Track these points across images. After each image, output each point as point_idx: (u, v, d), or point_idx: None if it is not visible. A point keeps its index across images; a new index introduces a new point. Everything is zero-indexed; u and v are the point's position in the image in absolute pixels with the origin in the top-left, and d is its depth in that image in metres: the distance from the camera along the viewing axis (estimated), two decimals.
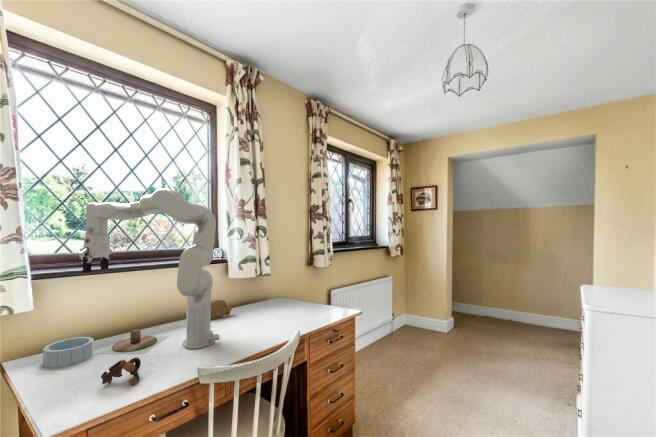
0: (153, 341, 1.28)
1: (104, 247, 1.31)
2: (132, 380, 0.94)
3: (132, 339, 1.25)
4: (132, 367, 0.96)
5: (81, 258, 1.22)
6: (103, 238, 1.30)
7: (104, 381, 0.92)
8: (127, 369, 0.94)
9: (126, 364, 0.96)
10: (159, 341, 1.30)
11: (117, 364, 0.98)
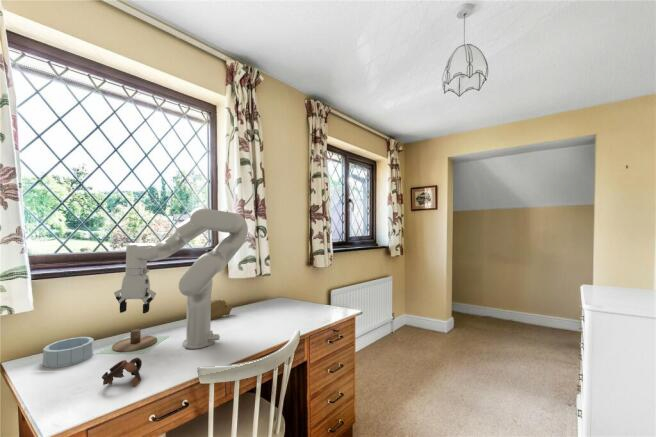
0: (153, 341, 1.28)
1: None
2: (133, 380, 0.94)
3: (132, 339, 1.25)
4: (133, 367, 0.96)
5: (152, 298, 1.27)
6: None
7: (105, 382, 0.91)
8: (128, 369, 0.94)
9: (127, 364, 0.96)
10: (159, 341, 1.30)
11: (118, 364, 0.97)
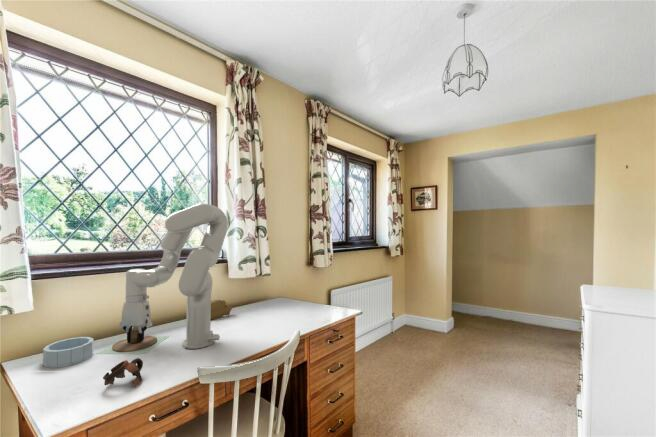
0: (153, 341, 1.28)
1: None
2: (135, 381, 0.94)
3: (132, 339, 1.25)
4: (135, 368, 0.96)
5: None
6: None
7: (107, 382, 0.91)
8: (130, 370, 0.94)
9: (129, 365, 0.95)
10: (159, 341, 1.30)
11: (119, 365, 0.97)
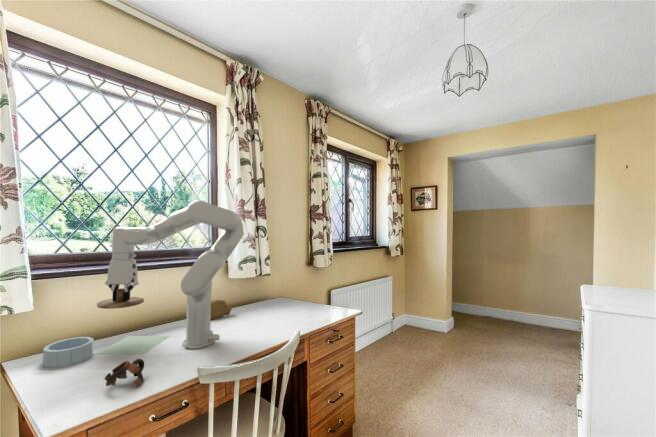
0: (139, 301, 1.25)
1: None
2: (137, 381, 0.94)
3: (118, 297, 1.23)
4: (136, 368, 0.95)
5: None
6: None
7: (108, 383, 0.91)
8: (131, 370, 0.94)
9: (130, 365, 0.95)
10: (159, 341, 1.30)
11: (121, 365, 0.97)
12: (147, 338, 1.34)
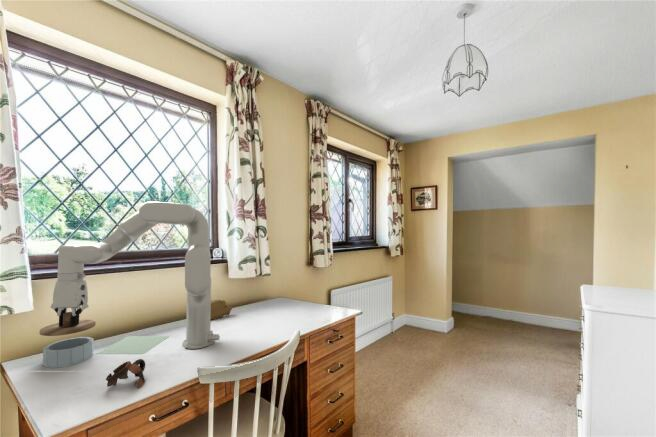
0: (89, 325, 1.14)
1: None
2: (138, 382, 0.93)
3: (64, 322, 1.12)
4: (138, 369, 0.95)
5: (82, 309, 1.13)
6: None
7: (110, 383, 0.90)
8: (133, 371, 0.93)
9: (131, 366, 0.95)
10: (159, 341, 1.30)
11: (122, 366, 0.97)
12: (147, 338, 1.34)
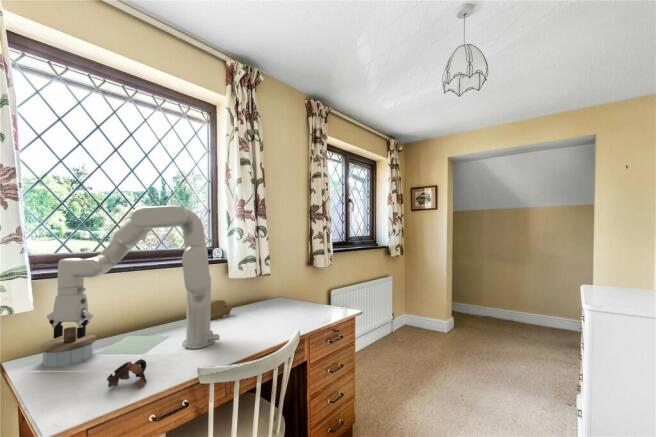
0: (90, 340, 1.14)
1: None
2: (139, 382, 0.93)
3: (65, 338, 1.12)
4: (139, 369, 0.95)
5: (88, 321, 1.13)
6: None
7: (111, 384, 0.90)
8: (134, 371, 0.93)
9: (133, 366, 0.94)
10: (159, 341, 1.30)
11: (123, 366, 0.96)
12: (147, 338, 1.34)
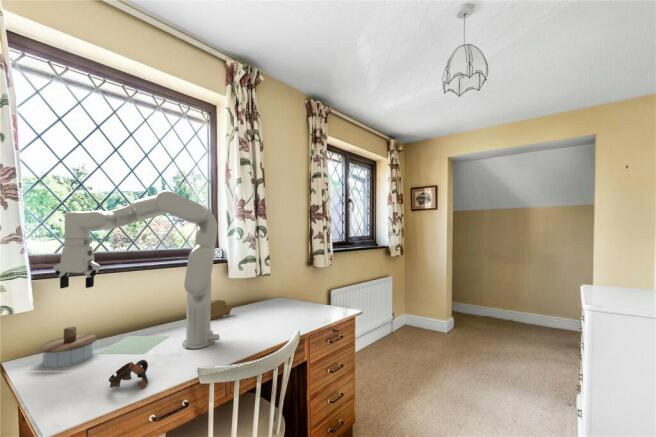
0: (90, 340, 1.14)
1: None
2: (141, 383, 0.93)
3: (65, 338, 1.12)
4: (141, 369, 0.95)
5: (97, 271, 1.16)
6: None
7: (113, 384, 0.90)
8: (136, 372, 0.93)
9: (134, 367, 0.94)
10: (159, 341, 1.30)
11: (124, 367, 0.96)
12: (147, 338, 1.34)
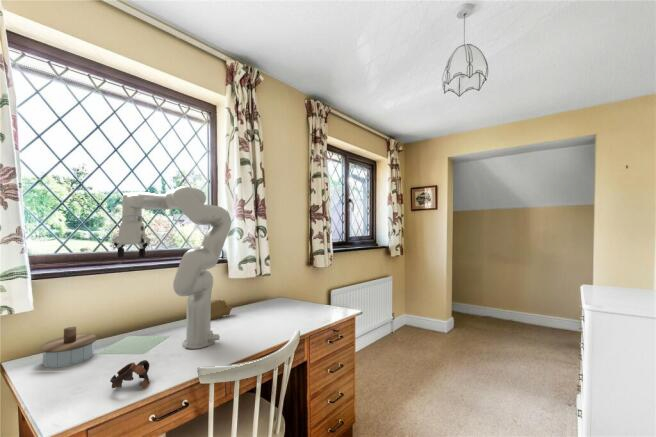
0: (90, 340, 1.14)
1: None
2: (143, 383, 0.93)
3: (65, 338, 1.12)
4: (142, 370, 0.94)
5: (148, 243, 1.38)
6: None
7: (114, 385, 0.89)
8: (138, 372, 0.92)
9: (136, 367, 0.94)
10: (159, 341, 1.30)
11: (126, 367, 0.96)
12: (147, 338, 1.34)
